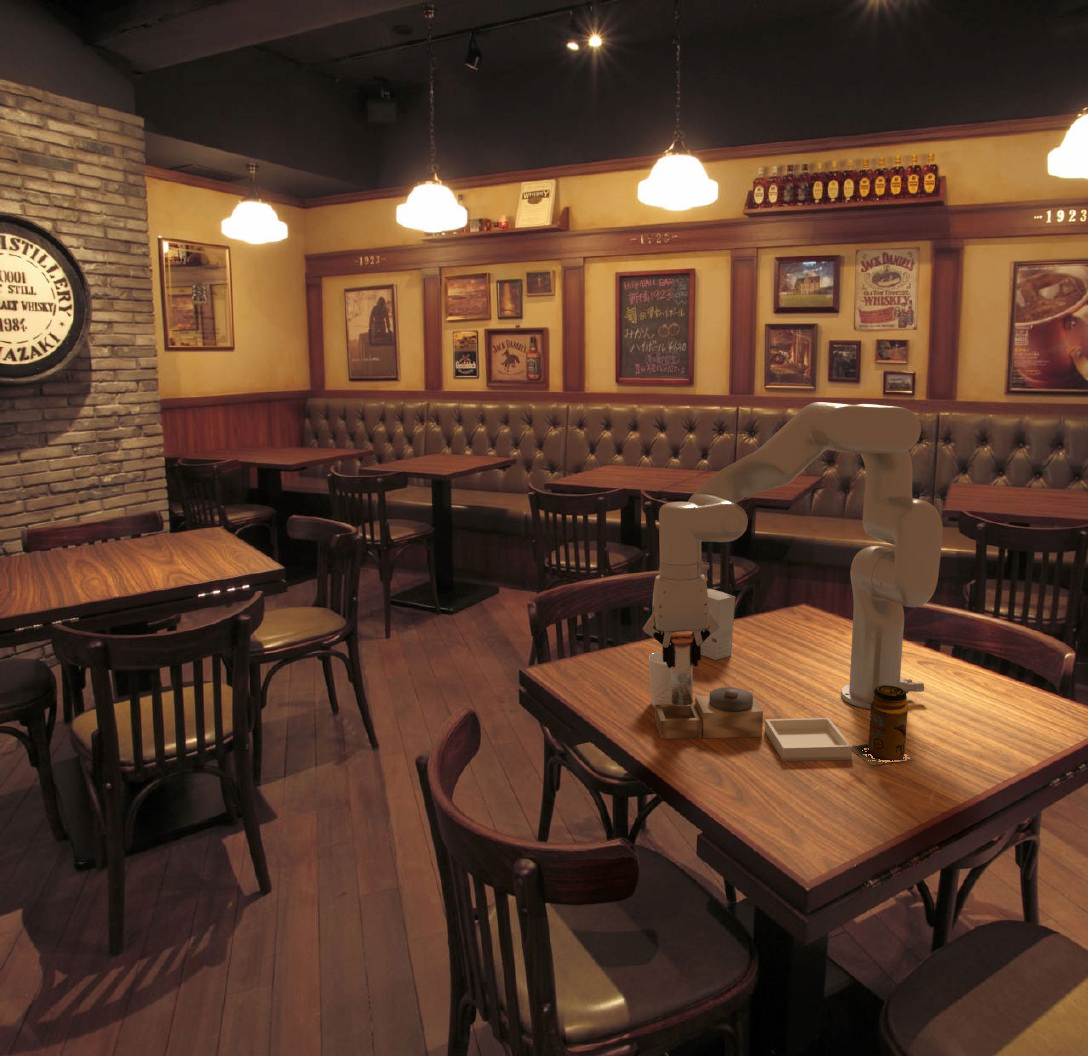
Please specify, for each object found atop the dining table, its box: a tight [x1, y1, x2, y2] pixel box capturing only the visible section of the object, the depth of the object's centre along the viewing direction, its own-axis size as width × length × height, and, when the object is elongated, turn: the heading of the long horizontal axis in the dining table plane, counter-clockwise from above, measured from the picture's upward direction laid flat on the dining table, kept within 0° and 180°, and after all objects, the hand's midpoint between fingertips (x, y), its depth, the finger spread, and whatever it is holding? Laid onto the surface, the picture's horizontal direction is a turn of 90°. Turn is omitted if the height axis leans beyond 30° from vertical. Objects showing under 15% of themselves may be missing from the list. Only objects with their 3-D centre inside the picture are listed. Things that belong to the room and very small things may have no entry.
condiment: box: [851, 685, 916, 766], centre depth 152 cm, size 7×8×12 cm
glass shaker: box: [669, 631, 694, 706], centre depth 162 cm, size 5×5×13 cm
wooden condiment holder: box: [654, 686, 764, 740], centre depth 164 cm, size 19×8×7 cm, turn 91°
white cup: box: [648, 650, 673, 708], centre depth 175 cm, size 8×8×10 cm
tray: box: [764, 717, 853, 762], centre depth 157 cm, size 12×12×2 cm
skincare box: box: [700, 588, 736, 661], centre depth 204 cm, size 8×6×15 cm
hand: (681, 663), depth 162 cm, fingers closed on glass shaker, 4 cm apart
